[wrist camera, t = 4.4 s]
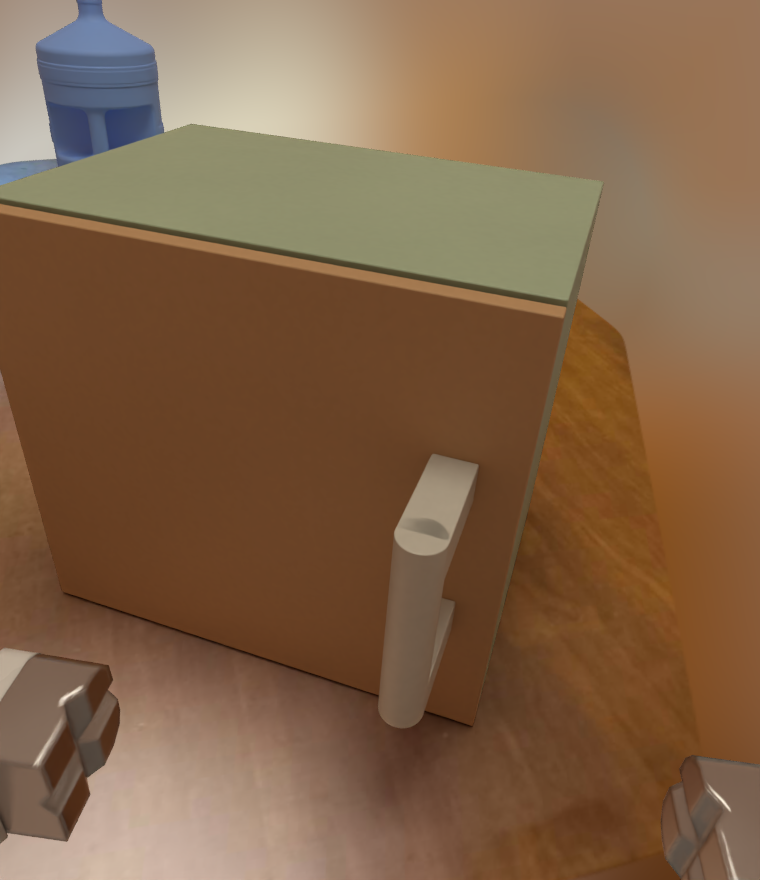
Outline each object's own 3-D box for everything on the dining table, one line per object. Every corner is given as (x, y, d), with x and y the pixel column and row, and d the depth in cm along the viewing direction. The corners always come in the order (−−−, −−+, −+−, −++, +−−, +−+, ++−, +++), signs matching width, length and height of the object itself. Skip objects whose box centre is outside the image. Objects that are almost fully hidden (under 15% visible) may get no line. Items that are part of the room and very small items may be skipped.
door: (445, 835, 33) (539, 401, 20) (-12, 667, 39) (-179, 247, 26) (476, 711, 39) (567, 306, 25) (72, 580, 45) (-29, 197, 31)
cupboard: (477, 709, 39) (569, 300, 25) (75, 579, 45) (-26, 192, 31) (528, 511, 53) (604, 181, 40) (217, 433, 59) (191, 123, 46)
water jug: (76, 184, 114) (39, -24, 99) (176, 186, 117) (156, -16, 101) (51, 214, 102) (4, -19, 86) (165, 216, 104) (139, -10, 88)
